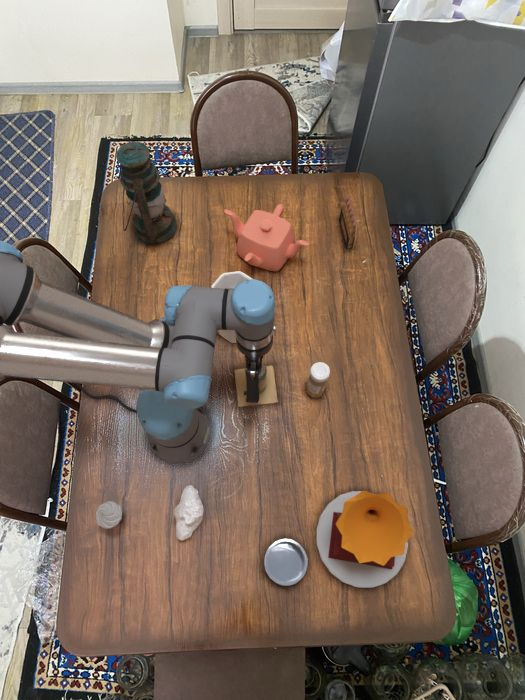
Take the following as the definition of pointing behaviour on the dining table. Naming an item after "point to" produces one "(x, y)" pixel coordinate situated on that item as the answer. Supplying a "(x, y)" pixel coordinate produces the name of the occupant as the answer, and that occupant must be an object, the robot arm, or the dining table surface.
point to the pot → (265, 238)
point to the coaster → (265, 397)
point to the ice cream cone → (108, 514)
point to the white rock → (188, 513)
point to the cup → (225, 283)
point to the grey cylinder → (285, 562)
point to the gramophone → (363, 538)
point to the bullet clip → (348, 223)
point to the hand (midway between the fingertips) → (255, 371)
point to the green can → (260, 378)
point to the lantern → (145, 195)
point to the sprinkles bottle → (317, 379)
